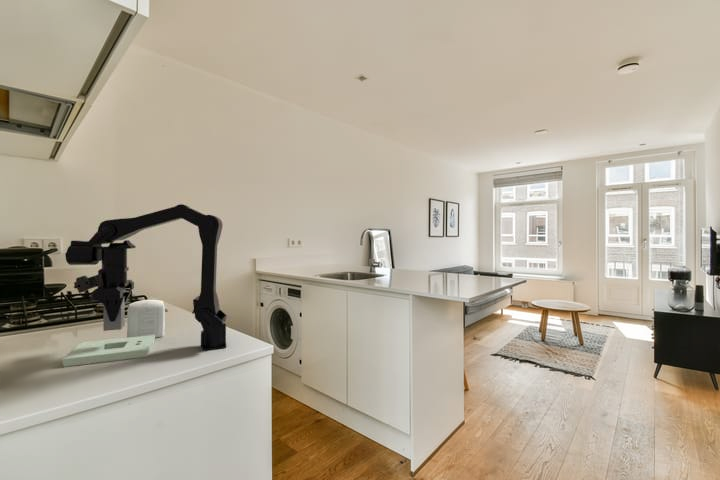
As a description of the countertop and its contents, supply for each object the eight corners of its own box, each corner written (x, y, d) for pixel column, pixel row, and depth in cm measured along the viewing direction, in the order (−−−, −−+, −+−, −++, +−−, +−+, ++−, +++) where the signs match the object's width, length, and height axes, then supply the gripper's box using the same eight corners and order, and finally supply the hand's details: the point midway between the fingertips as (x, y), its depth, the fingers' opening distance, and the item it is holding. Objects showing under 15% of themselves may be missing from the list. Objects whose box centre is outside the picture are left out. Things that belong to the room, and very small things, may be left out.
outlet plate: (155, 339, 104) (155, 332, 104) (147, 356, 89) (147, 348, 89) (84, 346, 96) (84, 339, 96) (62, 366, 82) (62, 358, 82)
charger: (124, 325, 94) (124, 298, 94) (121, 329, 91) (121, 300, 91) (107, 327, 93) (107, 299, 92) (103, 330, 89) (103, 301, 89)
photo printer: (164, 333, 110) (164, 297, 110) (165, 337, 106) (165, 299, 106) (127, 338, 104) (127, 300, 104) (126, 342, 101) (126, 302, 100)
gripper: (89, 262, 96) (89, 314, 97) (64, 268, 80) (64, 331, 80) (134, 261, 101) (134, 311, 101) (119, 267, 84) (119, 326, 84)
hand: (114, 319), depth 92 cm, fingers closed on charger, 4 cm apart
